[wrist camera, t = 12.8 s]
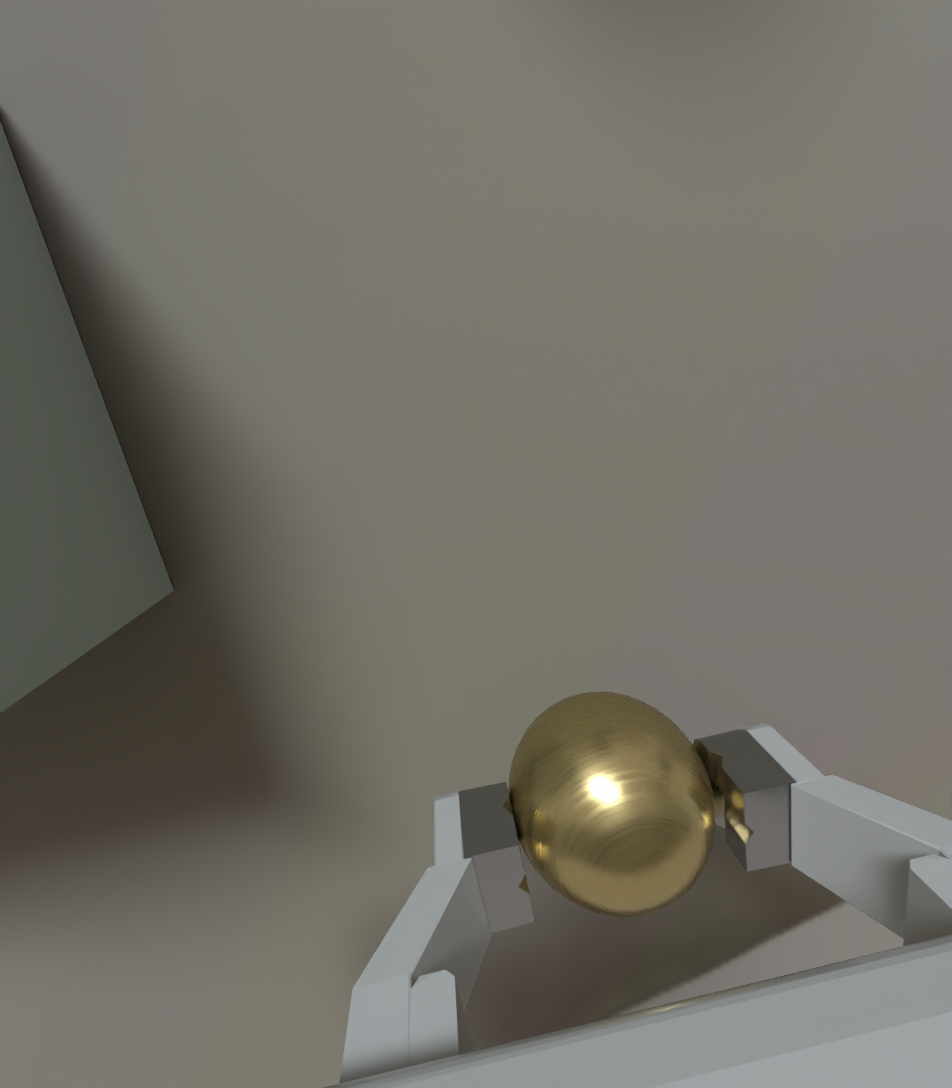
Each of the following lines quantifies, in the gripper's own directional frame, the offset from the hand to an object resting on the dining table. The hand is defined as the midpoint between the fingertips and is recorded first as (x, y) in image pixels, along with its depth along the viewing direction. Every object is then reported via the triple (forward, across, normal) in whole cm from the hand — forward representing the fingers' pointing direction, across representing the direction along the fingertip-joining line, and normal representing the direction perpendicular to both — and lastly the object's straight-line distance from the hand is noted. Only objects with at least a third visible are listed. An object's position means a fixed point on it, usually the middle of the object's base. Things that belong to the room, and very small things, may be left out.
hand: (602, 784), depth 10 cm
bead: (+2, 0, 0) cm, 2 cm away
